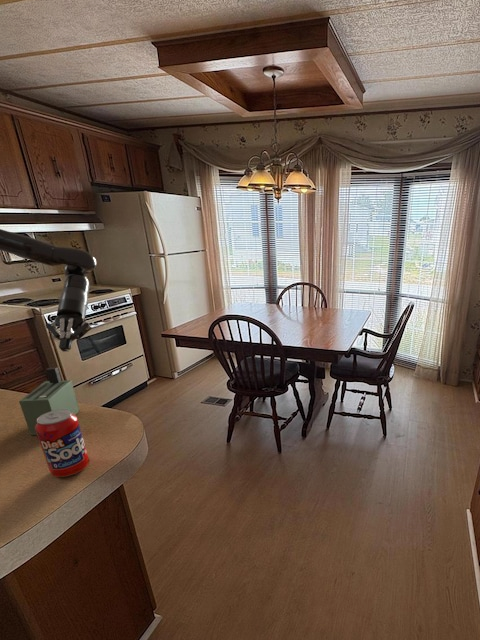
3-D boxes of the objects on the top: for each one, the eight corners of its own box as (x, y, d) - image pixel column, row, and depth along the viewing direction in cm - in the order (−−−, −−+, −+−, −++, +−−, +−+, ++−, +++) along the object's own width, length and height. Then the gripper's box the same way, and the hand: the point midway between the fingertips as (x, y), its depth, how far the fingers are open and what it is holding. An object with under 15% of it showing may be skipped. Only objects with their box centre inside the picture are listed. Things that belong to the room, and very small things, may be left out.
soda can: (76, 455, 88) (61, 404, 83) (97, 464, 86) (83, 412, 80) (43, 474, 82) (24, 420, 76) (65, 483, 79) (47, 428, 73)
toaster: (55, 412, 107) (45, 380, 103) (79, 411, 109) (71, 379, 104) (30, 435, 96) (18, 400, 91) (59, 434, 97) (48, 399, 93)
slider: (52, 380, 103) (48, 367, 101) (61, 380, 103) (57, 367, 102) (49, 383, 101) (45, 369, 100) (58, 382, 102) (54, 369, 100)
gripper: (44, 297, 110) (33, 345, 103) (90, 297, 112) (82, 344, 106) (57, 310, 116) (47, 356, 110) (100, 309, 119) (93, 354, 113)
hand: (64, 350), depth 108 cm, fingers closed
